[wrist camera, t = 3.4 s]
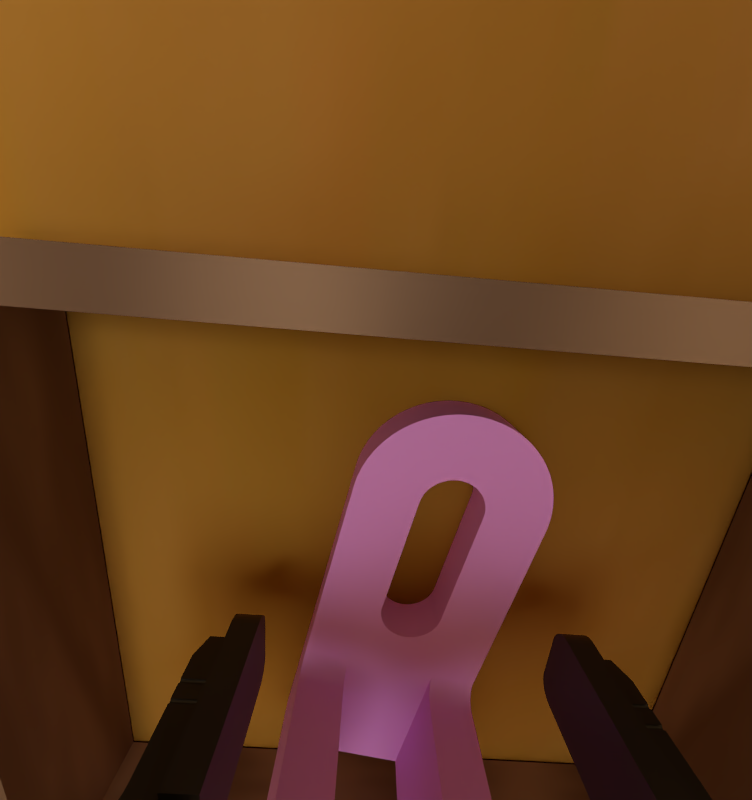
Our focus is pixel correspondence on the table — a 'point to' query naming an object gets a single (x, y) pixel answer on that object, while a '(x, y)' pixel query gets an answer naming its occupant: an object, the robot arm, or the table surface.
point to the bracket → (413, 608)
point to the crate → (311, 311)
